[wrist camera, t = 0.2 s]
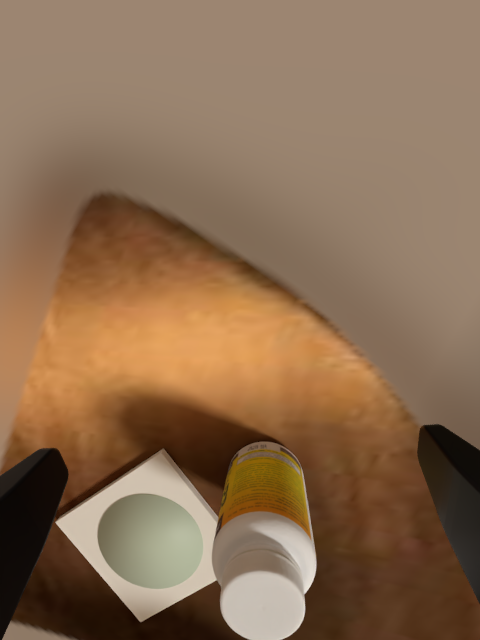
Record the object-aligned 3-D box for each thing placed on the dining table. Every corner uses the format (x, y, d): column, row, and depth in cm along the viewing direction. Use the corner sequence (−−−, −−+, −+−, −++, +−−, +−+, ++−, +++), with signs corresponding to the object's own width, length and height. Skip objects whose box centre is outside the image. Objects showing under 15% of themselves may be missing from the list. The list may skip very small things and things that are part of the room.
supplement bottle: (222, 442, 26) (191, 560, 16) (297, 433, 25) (315, 550, 15) (235, 508, 27) (214, 660, 17) (307, 502, 26) (331, 655, 16)
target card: (248, 555, 27) (248, 563, 27) (143, 614, 29) (140, 623, 28) (163, 448, 26) (160, 453, 26) (59, 516, 28) (54, 523, 27)
